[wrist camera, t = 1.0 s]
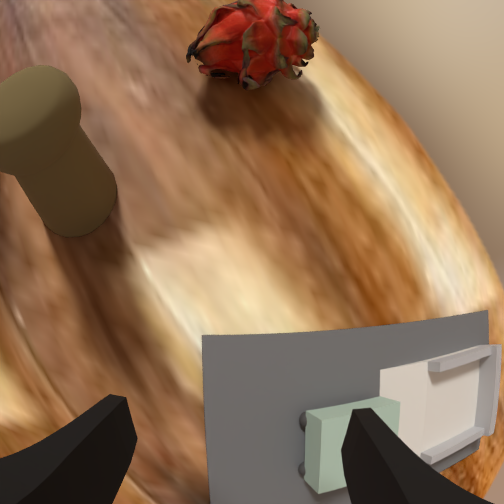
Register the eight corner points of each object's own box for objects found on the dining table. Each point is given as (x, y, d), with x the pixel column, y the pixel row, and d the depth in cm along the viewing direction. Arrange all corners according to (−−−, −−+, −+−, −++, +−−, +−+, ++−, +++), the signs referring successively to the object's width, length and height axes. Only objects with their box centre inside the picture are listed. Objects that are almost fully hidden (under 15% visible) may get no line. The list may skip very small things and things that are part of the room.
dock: (473, 447, 23) (497, 453, 19) (212, 530, 16) (220, 559, 13) (482, 310, 26) (509, 307, 23) (201, 334, 20) (207, 337, 16)
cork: (90, 252, 19) (17, 182, 8) (25, 216, 18) (-60, 139, 7) (132, 174, 20) (111, 59, 10) (67, 146, 20) (20, 39, 9)
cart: (372, 455, 20) (397, 468, 17) (295, 475, 18) (314, 495, 15) (376, 393, 21) (403, 400, 18) (296, 408, 19) (317, 421, 16)
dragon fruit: (303, 73, 28) (192, 109, 26) (278, 1, 24) (161, 29, 22) (355, 67, 21) (215, 107, 19) (325, -25, 17) (174, -3, 15)
